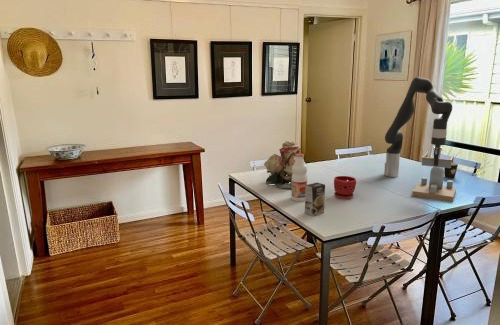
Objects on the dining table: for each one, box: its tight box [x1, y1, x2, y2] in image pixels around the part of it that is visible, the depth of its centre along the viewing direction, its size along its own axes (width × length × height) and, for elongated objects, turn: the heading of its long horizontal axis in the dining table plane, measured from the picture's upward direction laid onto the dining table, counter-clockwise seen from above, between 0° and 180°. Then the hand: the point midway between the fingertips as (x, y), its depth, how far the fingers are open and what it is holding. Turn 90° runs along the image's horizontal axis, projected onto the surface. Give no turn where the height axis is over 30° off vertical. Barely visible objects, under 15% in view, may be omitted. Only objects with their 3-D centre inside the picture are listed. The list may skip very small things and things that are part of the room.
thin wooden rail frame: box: [421, 151, 455, 169], centre depth 223 cm, size 16×17×5 cm
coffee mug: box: [443, 162, 459, 180], centre depth 261 cm, size 12×9×10 cm
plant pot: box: [333, 175, 357, 200], centre depth 224 cm, size 13×13×12 cm
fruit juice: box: [290, 152, 308, 202], centre depth 219 cm, size 9×9×28 cm
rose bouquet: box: [263, 140, 305, 189], centre depth 249 cm, size 26×29×30 cm
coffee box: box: [304, 182, 326, 217], centre depth 198 cm, size 9×6×16 cm
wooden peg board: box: [411, 166, 457, 202], centre depth 225 cm, size 22×21×17 cm
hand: (435, 165), depth 217 cm, fingers closed on thin wooden rail frame, 1 cm apart
